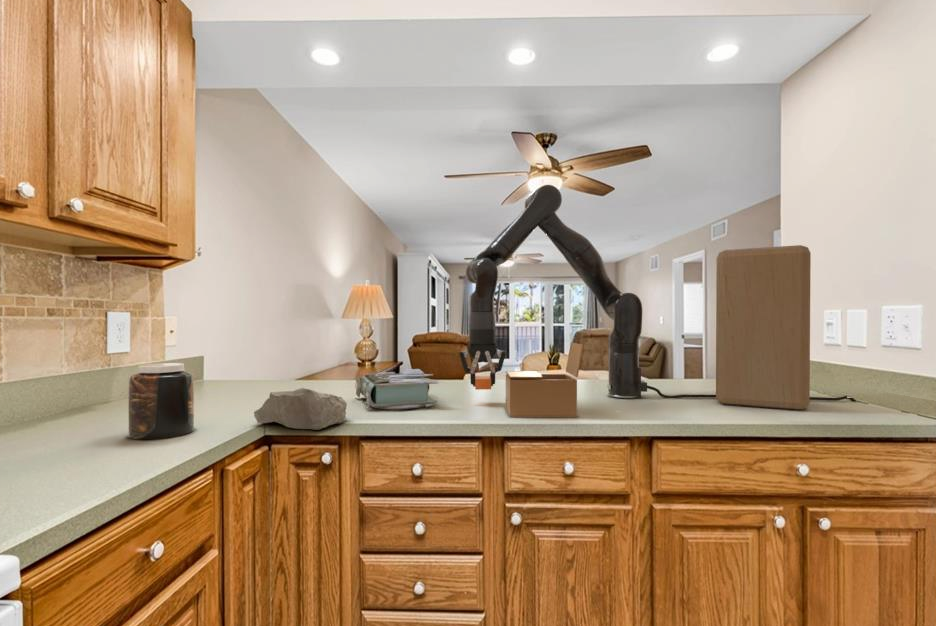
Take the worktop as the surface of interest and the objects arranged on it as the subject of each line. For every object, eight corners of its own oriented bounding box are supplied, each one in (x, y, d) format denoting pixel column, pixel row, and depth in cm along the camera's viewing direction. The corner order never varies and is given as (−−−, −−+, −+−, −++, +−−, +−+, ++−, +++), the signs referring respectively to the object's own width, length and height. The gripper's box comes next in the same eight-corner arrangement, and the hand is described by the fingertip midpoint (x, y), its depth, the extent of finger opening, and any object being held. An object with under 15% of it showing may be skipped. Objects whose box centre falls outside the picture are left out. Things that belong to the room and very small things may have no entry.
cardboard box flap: (565, 371, 136) (567, 371, 136) (576, 377, 123) (577, 377, 123) (570, 342, 136) (572, 342, 136) (582, 344, 123) (583, 344, 123)
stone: (239, 431, 108) (321, 434, 104) (238, 388, 108) (320, 389, 104) (285, 415, 126) (356, 417, 122) (284, 378, 126) (356, 379, 122)
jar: (165, 441, 99) (164, 367, 98) (115, 438, 101) (114, 366, 100) (205, 428, 110) (204, 362, 110) (159, 426, 112) (159, 362, 112)
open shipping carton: (566, 407, 136) (566, 371, 136) (576, 417, 123) (577, 376, 123) (505, 407, 136) (505, 371, 136) (510, 417, 123) (510, 376, 123)
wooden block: (810, 412, 129) (811, 243, 128) (715, 405, 140) (716, 249, 140) (801, 400, 148) (802, 253, 148) (718, 394, 160) (719, 258, 159)
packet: (474, 386, 145) (474, 376, 145) (489, 385, 145) (489, 375, 145) (475, 389, 138) (475, 379, 138) (491, 389, 138) (491, 378, 138)
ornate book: (353, 400, 154) (366, 413, 126) (353, 369, 155) (366, 376, 126) (422, 396, 162) (449, 408, 134) (421, 367, 162) (448, 373, 134)
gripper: (505, 327, 145) (506, 384, 145) (457, 327, 145) (458, 384, 145) (507, 327, 137) (508, 387, 137) (457, 328, 137) (458, 388, 137)
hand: (482, 385), depth 141 cm, fingers closed on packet, 4 cm apart
